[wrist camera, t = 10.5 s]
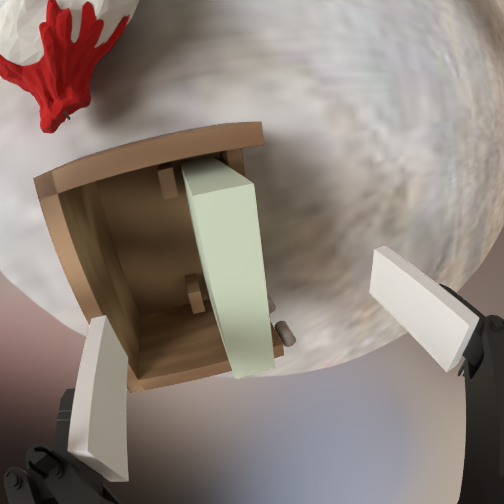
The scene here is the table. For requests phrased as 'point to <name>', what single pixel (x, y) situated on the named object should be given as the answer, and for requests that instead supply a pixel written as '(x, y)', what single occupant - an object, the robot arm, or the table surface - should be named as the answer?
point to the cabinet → (146, 250)
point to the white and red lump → (58, 49)
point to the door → (231, 261)
